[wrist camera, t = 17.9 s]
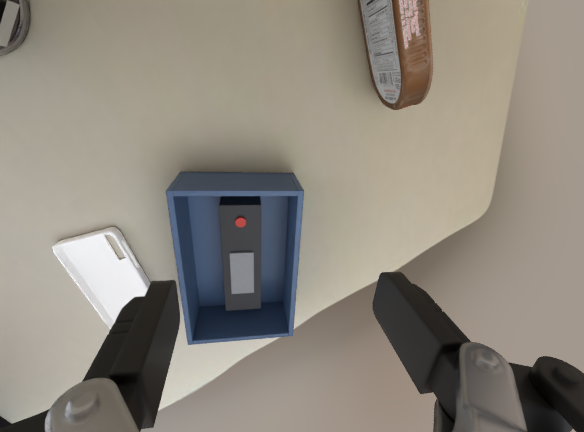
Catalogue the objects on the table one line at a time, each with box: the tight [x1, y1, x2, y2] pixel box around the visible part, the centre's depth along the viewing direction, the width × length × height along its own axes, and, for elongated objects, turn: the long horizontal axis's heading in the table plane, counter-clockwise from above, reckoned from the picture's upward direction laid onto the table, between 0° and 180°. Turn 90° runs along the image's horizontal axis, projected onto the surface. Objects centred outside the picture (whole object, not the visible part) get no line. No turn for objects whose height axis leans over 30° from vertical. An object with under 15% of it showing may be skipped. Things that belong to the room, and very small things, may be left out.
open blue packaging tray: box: [166, 172, 304, 345], centre depth 34 cm, size 13×20×6 cm, turn 177°
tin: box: [359, 0, 433, 110], centre depth 25 cm, size 15×3×8 cm, turn 18°
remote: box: [219, 196, 261, 311], centre depth 35 cm, size 5×15×4 cm, turn 177°
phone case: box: [52, 227, 151, 330], centre depth 36 cm, size 7×1×15 cm
